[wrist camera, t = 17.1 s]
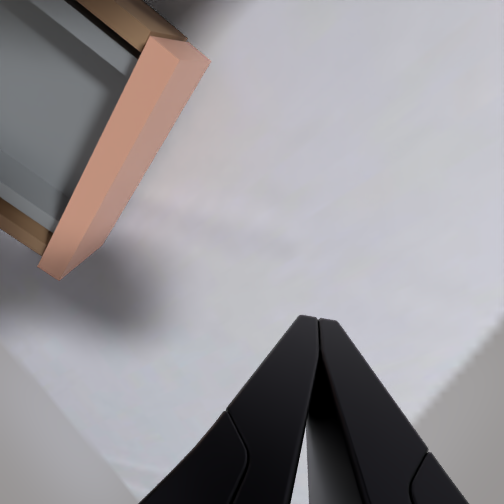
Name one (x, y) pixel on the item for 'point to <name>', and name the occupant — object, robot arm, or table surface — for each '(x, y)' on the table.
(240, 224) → the table surface
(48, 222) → the tray
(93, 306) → the table surface
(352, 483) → the robot arm
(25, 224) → the brown wooden box
